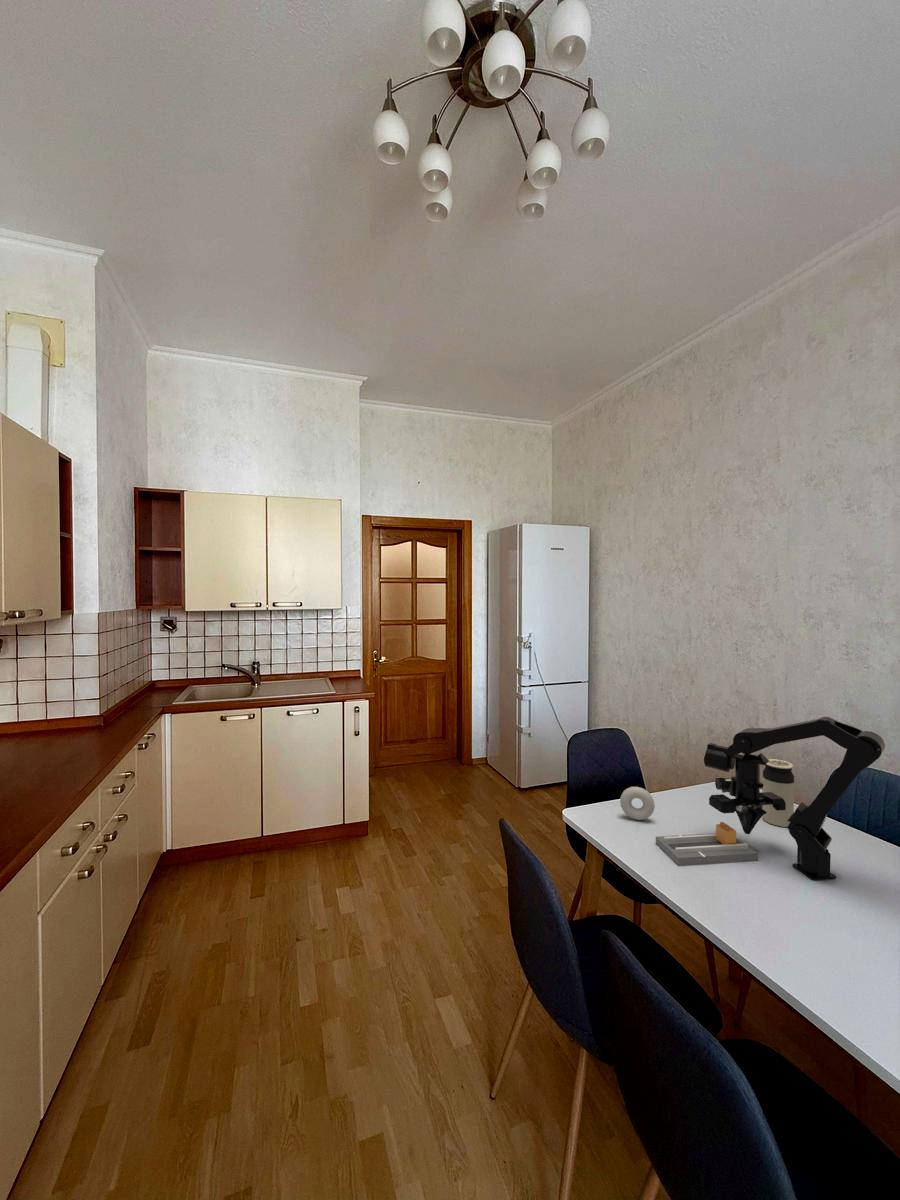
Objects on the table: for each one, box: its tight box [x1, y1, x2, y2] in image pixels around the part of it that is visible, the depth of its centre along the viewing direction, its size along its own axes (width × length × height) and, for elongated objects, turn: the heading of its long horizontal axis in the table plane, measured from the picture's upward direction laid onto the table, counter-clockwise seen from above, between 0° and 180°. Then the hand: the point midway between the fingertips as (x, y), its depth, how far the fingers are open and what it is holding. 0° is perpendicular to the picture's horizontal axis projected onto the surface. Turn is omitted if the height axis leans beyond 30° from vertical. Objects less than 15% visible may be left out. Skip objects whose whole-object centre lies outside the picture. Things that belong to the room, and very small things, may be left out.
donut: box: [619, 786, 656, 821], centre depth 151 cm, size 10×4×10 cm, turn 69°
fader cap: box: [715, 821, 737, 845], centre depth 133 cm, size 4×3×5 cm
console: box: [655, 832, 759, 867], centre depth 132 cm, size 12×22×3 cm, turn 96°
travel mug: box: [761, 758, 795, 828], centre depth 150 cm, size 8×8×18 cm
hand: (746, 833), depth 134 cm, fingers closed
